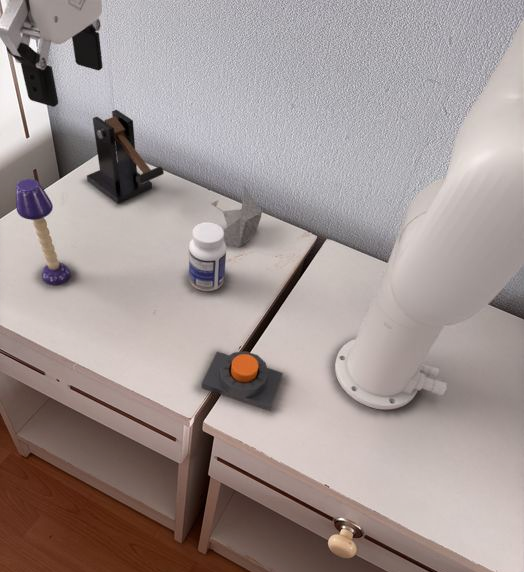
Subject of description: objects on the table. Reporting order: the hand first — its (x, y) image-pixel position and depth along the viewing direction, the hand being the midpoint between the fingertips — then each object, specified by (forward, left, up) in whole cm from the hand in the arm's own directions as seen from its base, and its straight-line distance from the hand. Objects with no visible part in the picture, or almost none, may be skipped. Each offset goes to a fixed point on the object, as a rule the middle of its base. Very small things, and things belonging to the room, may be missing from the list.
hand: (67, 83), depth 58 cm
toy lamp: (+7, +3, -30) cm, 31 cm away
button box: (-27, +11, -30) cm, 42 cm away
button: (-27, +11, -28) cm, 40 cm away
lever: (+5, -22, -22) cm, 32 cm away
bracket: (+9, -23, -30) cm, 39 cm away
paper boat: (-15, -20, -31) cm, 40 cm away
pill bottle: (-15, -6, -30) cm, 35 cm away
